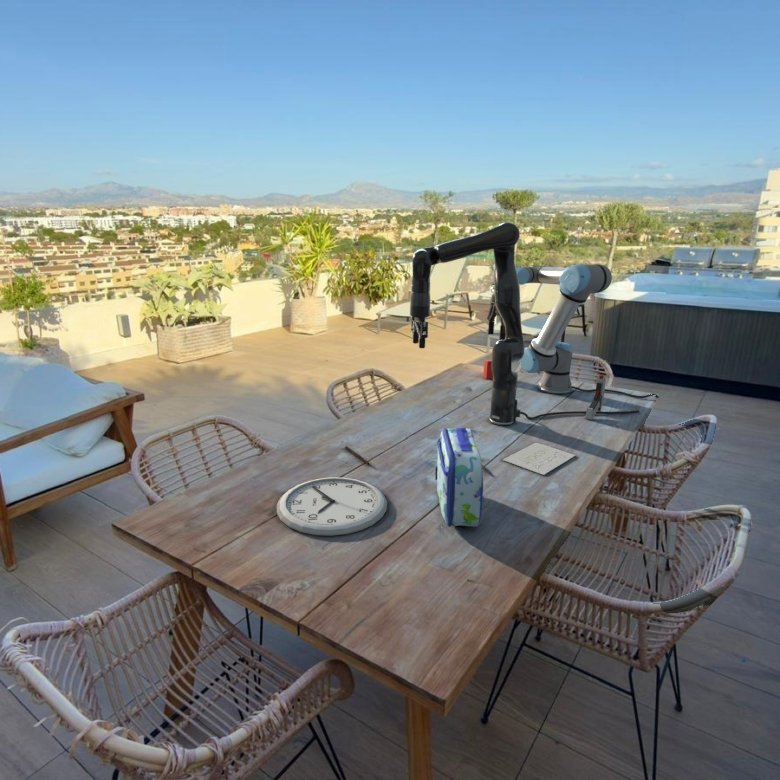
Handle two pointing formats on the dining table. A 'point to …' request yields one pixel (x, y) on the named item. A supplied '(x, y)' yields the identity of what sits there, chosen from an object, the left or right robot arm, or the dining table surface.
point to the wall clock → (331, 506)
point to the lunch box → (459, 478)
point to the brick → (488, 369)
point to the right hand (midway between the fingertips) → (496, 337)
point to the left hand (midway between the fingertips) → (418, 345)
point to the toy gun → (597, 398)
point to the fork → (484, 469)
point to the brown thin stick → (357, 455)
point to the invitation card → (539, 458)
